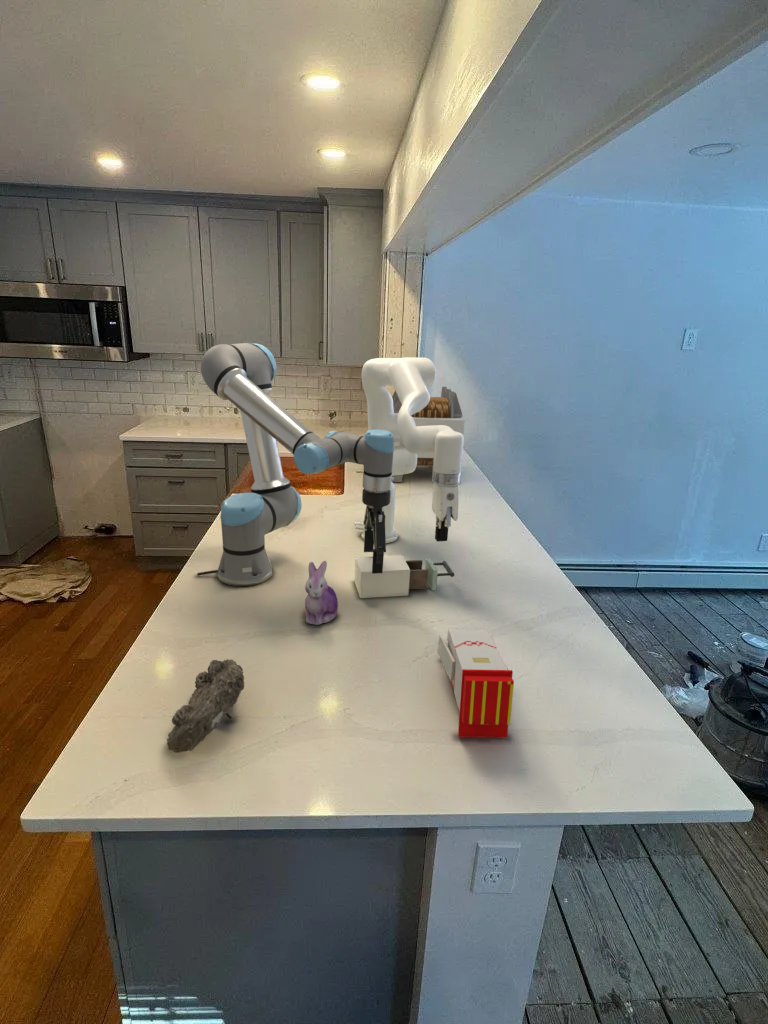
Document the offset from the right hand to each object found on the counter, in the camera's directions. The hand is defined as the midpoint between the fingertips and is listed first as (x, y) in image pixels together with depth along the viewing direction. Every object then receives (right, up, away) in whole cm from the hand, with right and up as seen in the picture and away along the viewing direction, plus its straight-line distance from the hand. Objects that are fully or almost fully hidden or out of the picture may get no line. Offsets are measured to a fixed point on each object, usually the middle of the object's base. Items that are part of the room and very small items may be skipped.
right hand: (441, 540), depth 159 cm
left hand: (-19, -6, -2) cm, 20 cm away
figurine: (-32, -19, -14) cm, 40 cm away
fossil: (-49, -31, -51) cm, 77 cm away
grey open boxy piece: (+1, +27, +116) cm, 119 cm away
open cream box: (-17, -14, +2) cm, 22 cm away
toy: (+2, -30, -40) cm, 50 cm away
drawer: (-6, -13, +4) cm, 14 cm away
